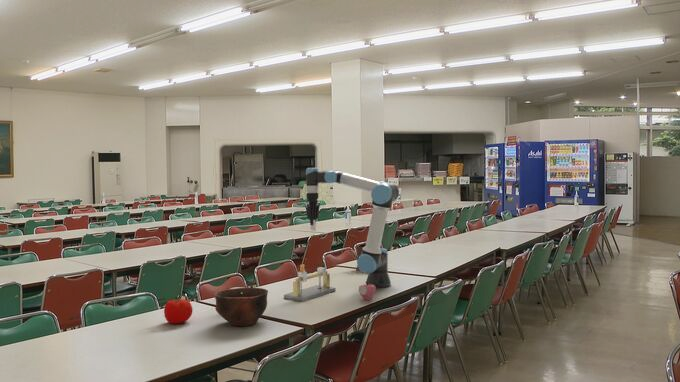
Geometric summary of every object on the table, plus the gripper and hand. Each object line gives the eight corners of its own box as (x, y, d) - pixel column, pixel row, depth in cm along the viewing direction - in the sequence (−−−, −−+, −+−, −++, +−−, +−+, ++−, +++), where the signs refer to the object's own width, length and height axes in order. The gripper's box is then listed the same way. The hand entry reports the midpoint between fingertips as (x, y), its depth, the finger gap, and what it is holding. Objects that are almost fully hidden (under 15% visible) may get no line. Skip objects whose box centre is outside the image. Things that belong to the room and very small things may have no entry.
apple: (355, 300, 302) (355, 282, 301) (365, 297, 308) (365, 279, 307) (369, 302, 295) (368, 284, 295) (379, 299, 301) (378, 281, 301)
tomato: (169, 319, 269) (168, 295, 269) (196, 318, 269) (195, 295, 269) (160, 326, 257) (159, 302, 257) (188, 326, 257) (187, 301, 256)
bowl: (248, 313, 278) (248, 283, 277) (279, 322, 260) (278, 291, 259) (205, 323, 260) (204, 292, 259) (234, 334, 242) (233, 300, 242)
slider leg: (307, 293, 309) (306, 264, 308) (303, 294, 306) (303, 265, 306) (301, 292, 311) (301, 264, 311) (298, 293, 309) (297, 265, 308)
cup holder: (382, 271, 383) (381, 236, 382) (348, 272, 383) (347, 236, 382) (380, 266, 402) (380, 232, 401) (347, 267, 402) (347, 233, 401)
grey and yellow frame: (335, 291, 324) (335, 267, 324) (302, 301, 300) (302, 275, 300) (317, 288, 333) (316, 265, 332) (283, 298, 309) (283, 273, 308)
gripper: (314, 191, 348) (314, 228, 349) (300, 192, 338) (301, 231, 339) (323, 192, 344) (324, 229, 345) (310, 193, 333) (311, 231, 334)
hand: (313, 230), depth 342 cm, fingers closed
